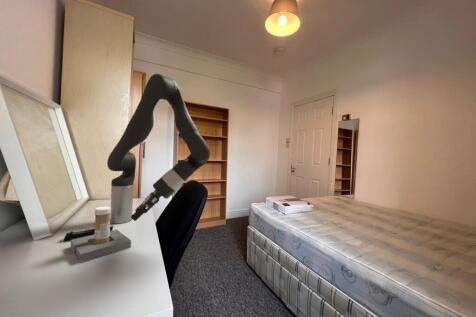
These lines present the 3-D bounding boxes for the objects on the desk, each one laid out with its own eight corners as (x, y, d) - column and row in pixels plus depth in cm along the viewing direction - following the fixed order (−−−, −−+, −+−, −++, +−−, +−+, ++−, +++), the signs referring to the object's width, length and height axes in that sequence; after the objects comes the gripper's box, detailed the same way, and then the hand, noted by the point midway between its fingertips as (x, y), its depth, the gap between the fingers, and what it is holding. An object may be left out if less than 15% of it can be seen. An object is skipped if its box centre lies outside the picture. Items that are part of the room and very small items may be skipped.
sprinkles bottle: (92, 246, 68) (93, 207, 68) (107, 242, 72) (108, 205, 71) (96, 250, 65) (97, 210, 65) (111, 246, 69) (112, 207, 69)
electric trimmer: (113, 235, 80) (113, 227, 80) (62, 243, 71) (63, 234, 71) (112, 232, 83) (113, 224, 83) (63, 239, 74) (64, 231, 74)
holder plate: (70, 247, 67) (70, 240, 67) (116, 235, 78) (116, 229, 78) (80, 262, 58) (80, 254, 58) (130, 247, 69) (130, 240, 69)
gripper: (162, 174, 81) (130, 203, 77) (161, 178, 67) (122, 214, 64) (176, 187, 83) (145, 216, 79) (177, 193, 69) (140, 229, 65)
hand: (135, 215), depth 71 cm, fingers open, 8 cm apart
